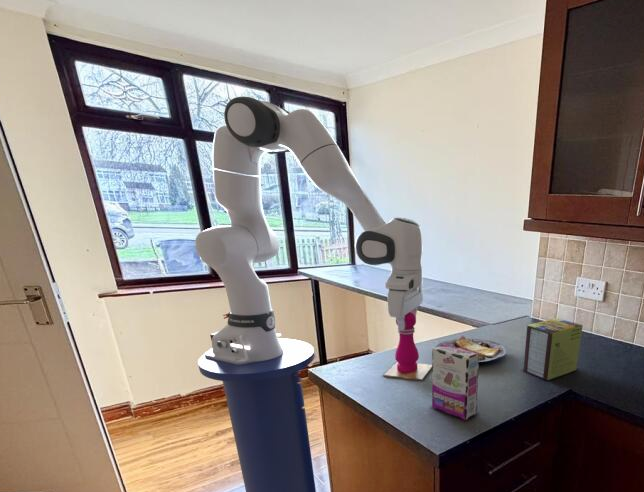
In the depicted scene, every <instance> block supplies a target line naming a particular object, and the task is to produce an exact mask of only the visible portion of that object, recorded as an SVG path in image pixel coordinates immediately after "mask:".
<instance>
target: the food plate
mask: <svg viewBox="0 0 644 492" xmlns="http://www.w3.org/2000/svg"><path fill="white" fill-rule="evenodd" d="M444 344H445V345H448V346H452V347H456V348H460V349H464V350H468V351H471V352H475V353H479V363H483V362H490V361H494V360H497V359H500V358H502V357H504V356H506V354H507V348H506V347H504V346H503V345H502V344H500V343H497V342H496V341H491V340H485V339H480V338H467V337H465V336H464V335H462V336H460V337H459V338H458V339H457V338H456V339H450V340H446V341H445V340H444V341H442V342H439V343H438V344H437V345H436V346H435V347H438V346H441V345H444Z"/></svg>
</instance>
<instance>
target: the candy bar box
mask: <svg viewBox="0 0 644 492" xmlns="http://www.w3.org/2000/svg"><path fill="white" fill-rule="evenodd" d="M431 357H432V360H431V361H432V362H431V365H432V368H431V370H432V372H431V378H432V380H431V386H432V387H431V390H432V391H431V398H432V399H431V407H432V409H435V410H438V411H440V412H443V413H445V414H448V415H451V416H453V417H456V418H458V419H461V420H464V421H467V420H469V419H470V418H472V417H474V416H476V415H477V411H478V390H479V389H478V387H479V385H478V384H479V366H480V365H479V364H480V362H479V353H475V352H471V351H468V350H464V349H460V348H456V347H452V346H448V345H445V344H444V345H441V346H438V347H436V346H434V347H433V348H431Z"/></svg>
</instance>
